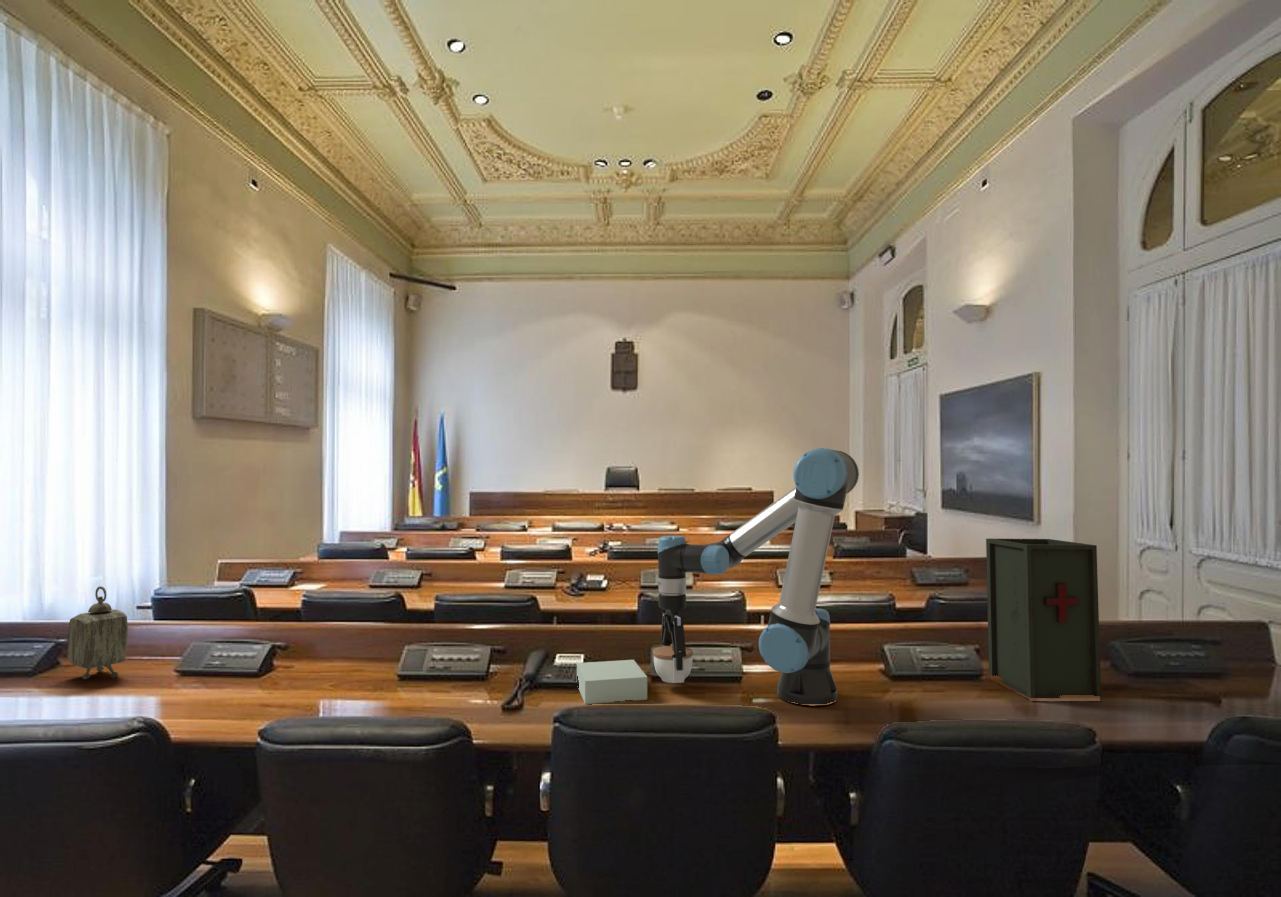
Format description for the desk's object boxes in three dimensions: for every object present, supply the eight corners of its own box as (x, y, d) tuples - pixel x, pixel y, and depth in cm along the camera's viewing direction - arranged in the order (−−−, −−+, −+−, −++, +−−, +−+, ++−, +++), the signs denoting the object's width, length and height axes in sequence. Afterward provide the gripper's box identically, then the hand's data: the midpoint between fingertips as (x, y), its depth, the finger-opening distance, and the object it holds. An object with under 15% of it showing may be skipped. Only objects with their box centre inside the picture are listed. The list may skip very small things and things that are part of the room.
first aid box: (1052, 679, 180) (1048, 538, 182) (1101, 701, 161) (1096, 545, 163) (988, 679, 179) (986, 538, 181) (1031, 701, 161) (1027, 545, 163)
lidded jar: (690, 687, 163) (690, 650, 163) (650, 684, 165) (649, 648, 165) (695, 674, 173) (694, 640, 174) (657, 672, 175) (656, 638, 176)
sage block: (633, 681, 176) (633, 659, 176) (647, 700, 160) (647, 676, 161) (576, 685, 172) (576, 663, 173) (585, 705, 157) (585, 681, 157)
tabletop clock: (125, 677, 174) (129, 587, 176) (83, 686, 167) (88, 591, 168) (105, 669, 182) (109, 582, 183) (64, 677, 174) (69, 586, 176)
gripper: (649, 587, 181) (650, 665, 180) (669, 601, 158) (670, 690, 157) (674, 586, 183) (675, 663, 181) (697, 600, 160) (699, 688, 159)
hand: (673, 675), depth 169 cm, fingers closed on lidded jar, 11 cm apart
